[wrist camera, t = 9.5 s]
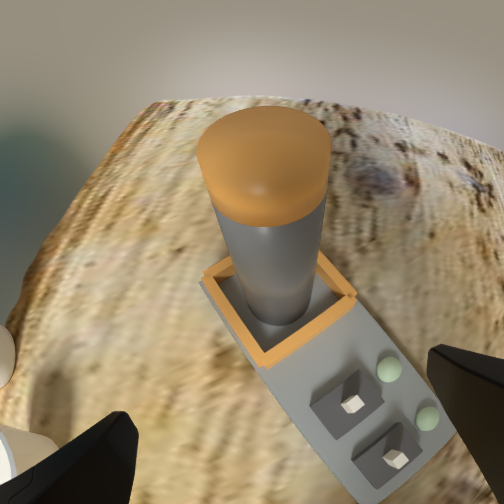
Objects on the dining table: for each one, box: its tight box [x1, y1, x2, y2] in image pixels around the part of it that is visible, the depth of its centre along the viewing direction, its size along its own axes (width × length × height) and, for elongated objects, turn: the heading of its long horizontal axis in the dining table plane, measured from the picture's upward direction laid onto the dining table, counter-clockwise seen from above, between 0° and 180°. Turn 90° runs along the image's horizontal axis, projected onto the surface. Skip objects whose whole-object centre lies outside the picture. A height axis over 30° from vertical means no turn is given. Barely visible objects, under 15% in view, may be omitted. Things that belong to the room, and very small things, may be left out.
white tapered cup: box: [0, 424, 59, 485], centre depth 13 cm, size 7×7×7 cm
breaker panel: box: [199, 250, 457, 504], centre depth 18 cm, size 22×9×4 cm, turn 33°
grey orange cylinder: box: [196, 106, 331, 326], centre depth 16 cm, size 5×5×14 cm
